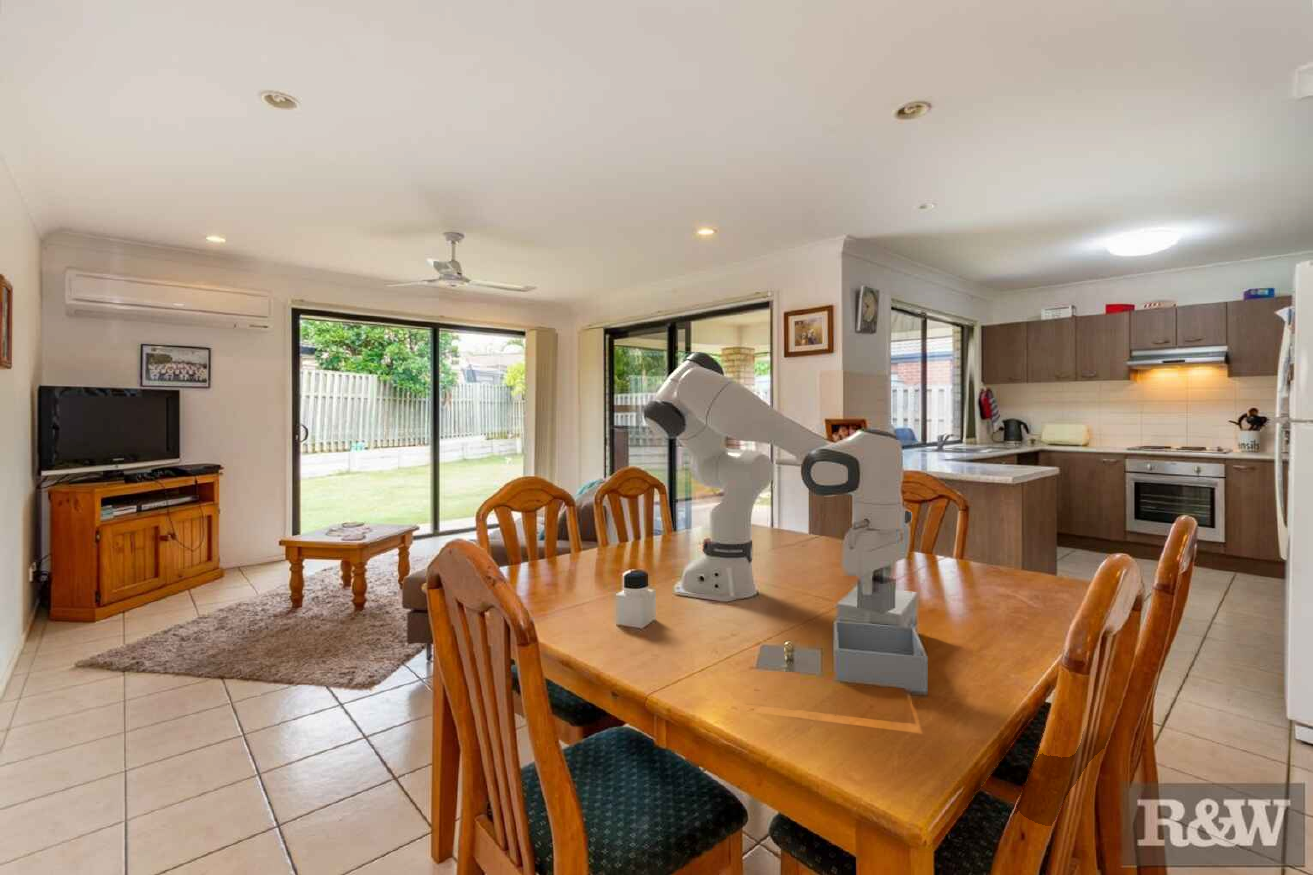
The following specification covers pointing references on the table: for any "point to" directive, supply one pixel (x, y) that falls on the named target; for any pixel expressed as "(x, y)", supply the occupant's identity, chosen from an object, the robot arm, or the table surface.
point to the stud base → (796, 666)
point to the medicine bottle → (635, 600)
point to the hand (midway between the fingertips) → (876, 590)
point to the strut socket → (878, 594)
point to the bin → (880, 656)
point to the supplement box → (898, 616)
